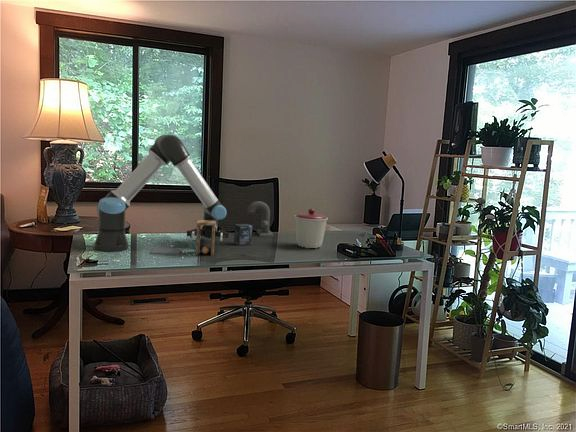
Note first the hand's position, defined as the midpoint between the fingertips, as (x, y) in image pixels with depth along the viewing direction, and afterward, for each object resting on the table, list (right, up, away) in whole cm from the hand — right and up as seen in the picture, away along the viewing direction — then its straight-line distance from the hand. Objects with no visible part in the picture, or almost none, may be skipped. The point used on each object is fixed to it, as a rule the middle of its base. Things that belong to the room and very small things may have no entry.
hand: (206, 237), depth 236 cm
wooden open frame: (-1, -8, +1) cm, 8 cm away
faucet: (+21, -1, +63) cm, 66 cm away
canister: (+50, -7, +34) cm, 61 cm away
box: (+14, -5, +29) cm, 33 cm away
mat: (-19, -7, 0) cm, 20 cm away
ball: (-1, -8, +1) cm, 8 cm away
